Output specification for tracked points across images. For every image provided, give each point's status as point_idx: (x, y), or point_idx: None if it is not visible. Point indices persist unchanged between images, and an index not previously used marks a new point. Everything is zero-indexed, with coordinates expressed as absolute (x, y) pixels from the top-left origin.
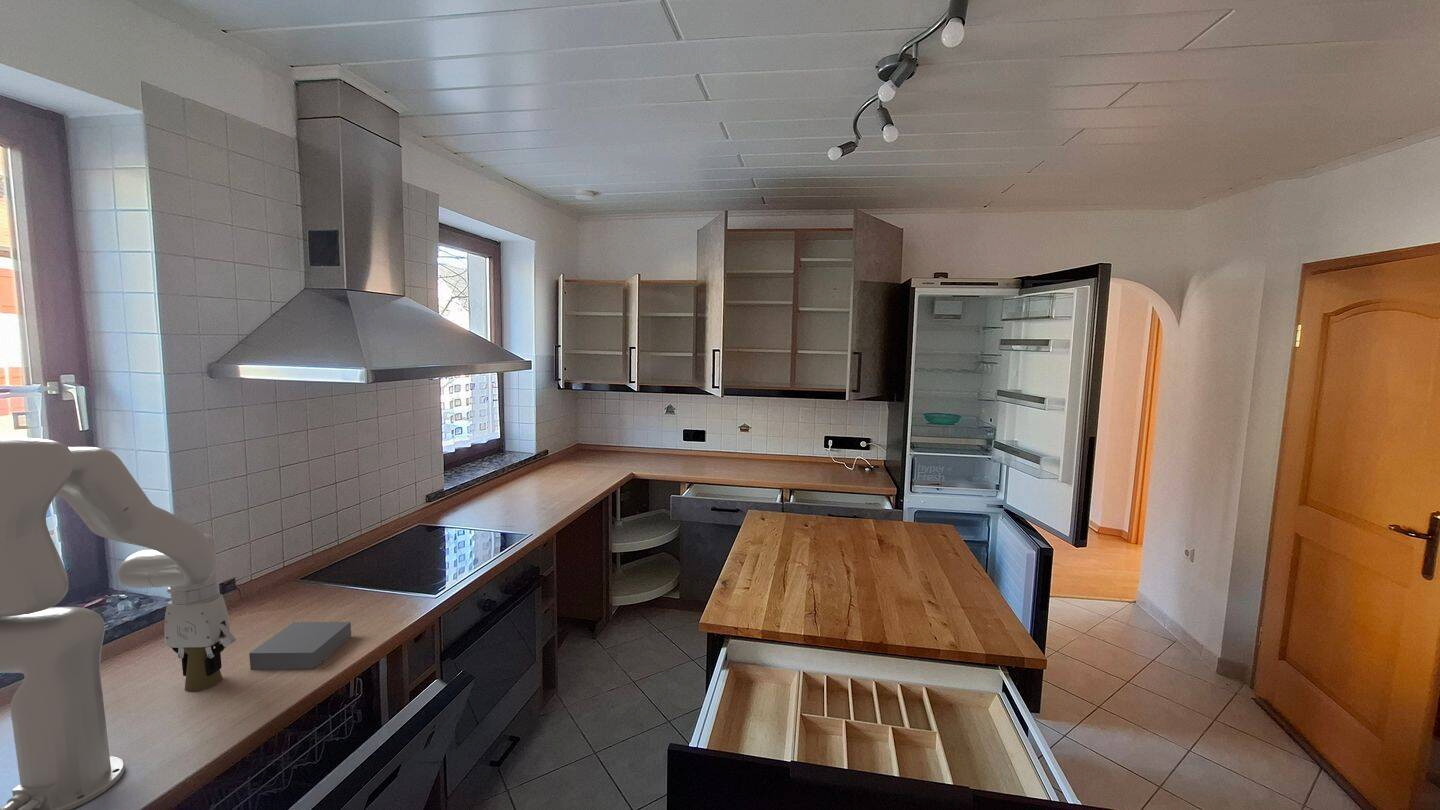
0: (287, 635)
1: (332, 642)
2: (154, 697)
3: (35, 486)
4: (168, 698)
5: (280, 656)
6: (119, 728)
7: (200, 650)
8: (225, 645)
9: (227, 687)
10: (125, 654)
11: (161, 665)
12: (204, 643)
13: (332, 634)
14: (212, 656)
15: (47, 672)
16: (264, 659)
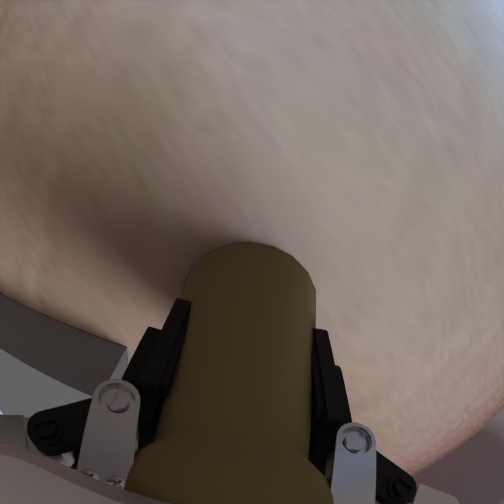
0: None
1: None
2: (407, 243)
3: None
4: (347, 216)
5: (10, 341)
6: (418, 25)
7: (153, 462)
8: (9, 423)
9: (122, 244)
10: (477, 428)
11: (425, 410)
12: (20, 498)
13: None
14: (112, 391)
15: None
16: (60, 356)
